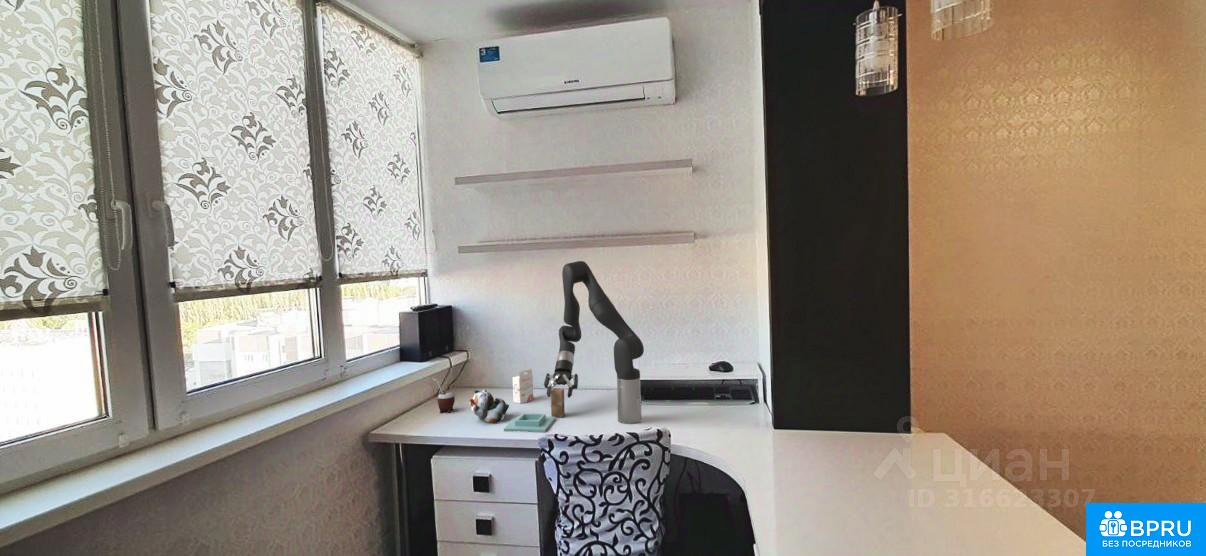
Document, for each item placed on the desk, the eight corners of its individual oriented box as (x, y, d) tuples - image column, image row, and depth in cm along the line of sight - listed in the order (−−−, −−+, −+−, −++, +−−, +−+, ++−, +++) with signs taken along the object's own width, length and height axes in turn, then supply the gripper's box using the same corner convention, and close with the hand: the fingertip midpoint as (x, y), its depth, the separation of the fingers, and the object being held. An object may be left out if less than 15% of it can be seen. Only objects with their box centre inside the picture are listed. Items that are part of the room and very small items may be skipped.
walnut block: (564, 414, 201) (564, 388, 201) (562, 418, 197) (561, 391, 197) (554, 414, 202) (553, 388, 202) (551, 417, 198) (550, 391, 197)
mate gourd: (457, 411, 210) (457, 377, 209) (441, 415, 204) (440, 380, 204) (449, 408, 215) (448, 374, 214) (432, 412, 209) (431, 377, 209)
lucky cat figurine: (501, 424, 189) (482, 396, 187) (476, 434, 193) (458, 406, 190) (513, 403, 203) (497, 376, 201) (491, 413, 207) (474, 386, 204)
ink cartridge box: (526, 398, 228) (525, 367, 228) (533, 399, 225) (532, 368, 225) (512, 402, 222) (511, 370, 221) (520, 404, 219) (519, 371, 218)
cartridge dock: (555, 419, 195) (555, 411, 195) (544, 432, 180) (544, 424, 180) (517, 418, 198) (517, 410, 198) (503, 431, 182) (503, 423, 182)
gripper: (547, 358, 211) (540, 391, 200) (579, 359, 208) (573, 392, 197) (550, 368, 216) (544, 400, 205) (581, 368, 214) (576, 401, 203)
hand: (558, 396), depth 201 cm, fingers open, 8 cm apart
